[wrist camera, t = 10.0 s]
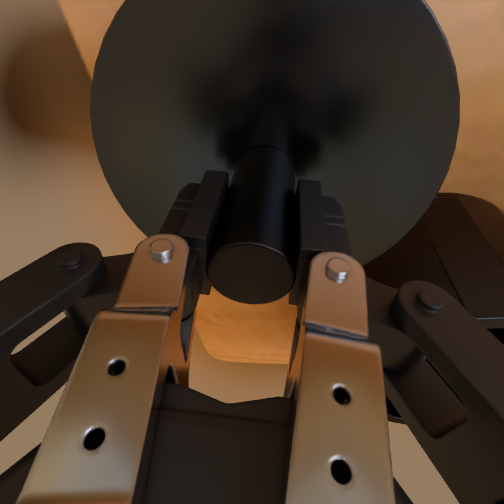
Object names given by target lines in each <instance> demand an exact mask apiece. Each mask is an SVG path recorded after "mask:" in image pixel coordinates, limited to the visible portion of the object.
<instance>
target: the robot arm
mask: <svg viewBox="0 0 504 504" xmlns="http://www.w3.org/2000/svg"><path fill="white" fill-rule="evenodd" d="M228 190H229V173H228V172H225V171H215V170H206V172H205V174H204V176H203V179H202V181H201V183H200V184H199V183H189V184H188V185H187V186H185V187H184V188H183V189H181V190H180V192H179V194H178V196H177V198H176V201H175V202H174V204H173V205H172V209H170V211H169V213H168V215H167V217H166V219H165V221H164V223H163V225H162V227H161V229H160V231H159V233H158V234H157V235H153V236H150V237H148V238H146V239H144V240H143V241H141V242H140V243H139V244H138V246H137V247H136V249H135V251H134V253H130V254H124V255H116V256H108V257H102V254H101V252H100V250H99V248H97V247H96V246H95V245H92V244H89V243H72V244H67V245H64V246H61V247H59V248H57V249H55V250H53V251H52V252H50V253H48V254H46V255H45V256H43V257H41V258H39V259H38V260H36V261H34V262H32V263H31V264H29V265H27V266H26V267H24V268H22V269H20V270H19V271H17V272H15V273H13V274H12V275H10V276H8V277H7V278H5V279H3V280H1V281H0V441H2V440H3V439H4V438H5V437H6V436H7V435H8V434H9V433H11V432H12V431H13V430H14V429H15V428H16V427H17V426H18V425H19V424H20V423H21V422H23V421H24V420H25V419H26V418H27V417H28V416H29V415H31V414H32V413H33V412H34V411H35V410H36V409H37V408H38V407H40V406H41V405H42V404H43V403H44V402H45V401H46V400H47V399H48V398H49V397H51V396H52V395H53V394H54V393H55V392H56V391H57V390H59V389H60V388H61V387H62V386H63V385H64V384H65V383H66V382H67V381H68V382H67V384H66V386H65V389H64V391H63V394H62V396H61V398H60V401H59V403H58V406H57V408H56V410H55V413H54V415H53V417H52V420H51V422H50V424H49V427H48V429H47V432H46V434H45V436H44V439H43V441H42V442H41V443H40V444H39V445H38V446H36V447H35V448H34V449H33V450H31V451H30V452H29V453H27V454H26V455H25V456H24V457H22V458H21V459H20V460H19V461H17V462H16V463H15V464H14V465H12V466H11V467H10V468H9V469H7V470H6V471H5V472H4V473H2V474H1V475H0V504H413V502H412V501H411V500H410V498H409V497H408V496H407V494H406V493H405V492H404V490H403V489H402V487H401V486H400V485H399V483H398V482H397V481H396V479H395V478H394V477H393V473H392V462H391V452H390V441H389V430H388V419H387V408H386V398H385V393H386V395H387V396H388V398H389V399H390V401H391V402H392V404H393V405H394V407H395V408H396V410H397V411H398V413H399V414H400V416H401V417H402V419H403V420H404V422H405V423H406V425H407V426H408V427H409V429H410V430H411V432H412V433H413V435H414V436H415V437H416V439H417V441H418V442H419V444H420V445H421V447H422V448H423V450H424V451H425V453H426V454H427V455H428V457H429V459H430V460H431V462H432V463H433V464H434V466H435V467H436V469H437V470H438V472H439V473H440V475H441V476H442V478H443V479H444V481H445V482H446V484H447V485H448V487H449V488H450V490H451V491H452V493H453V494H454V496H455V497H456V499H457V500H458V501H459V503H460V504H504V345H503V344H502V343H501V342H500V341H499V340H498V339H497V338H496V337H495V336H494V335H493V334H492V333H491V332H490V331H489V330H488V329H486V328H485V327H484V326H483V325H482V324H481V323H480V322H479V321H478V320H477V319H476V318H475V317H474V316H473V315H472V314H471V313H469V312H468V311H467V310H466V309H465V308H464V307H463V306H462V305H461V304H460V303H459V302H458V301H457V300H456V299H455V298H454V297H452V296H451V295H450V294H449V293H448V292H447V291H445V290H444V289H442V288H441V287H439V286H437V285H435V284H432V283H429V282H426V281H421V280H412V281H408V282H405V283H404V284H402V285H401V287H400V288H399V289H396V288H393V287H390V286H387V285H384V284H382V283H379V282H376V281H374V280H372V279H370V278H368V277H367V276H365V272H364V269H363V267H362V266H361V264H360V263H359V262H358V261H356V260H355V259H354V258H352V254H351V249H350V244H349V239H348V234H347V229H346V227H345V226H346V224H345V219H344V214H343V210H342V206H341V205H340V204H339V203H338V201H337V200H336V199H335V198H334V197H327V196H322V189H321V182H320V181H315V180H305V179H298V183H297V188H296V194H295V235H296V280H295V283H294V285H293V287H292V289H291V290H290V291H289V304H292V305H297V317H296V321H295V325H294V331H293V338H292V345H291V352H290V359H289V366H288V372H287V379H286V385H285V390H284V395H283V397H273V398H266V399H259V400H253V401H246V402H239V403H231V404H228V403H224V402H221V401H219V400H216V399H214V398H212V397H209V396H207V395H205V394H202V393H200V392H197V391H195V390H193V389H191V388H189V365H190V357H191V349H192V342H193V335H194V327H195V320H196V306H197V302H198V299H199V296H200V294H206V295H209V294H210V290H211V286H212V285H211V283H210V282H209V280H208V277H207V273H206V265H207V261H208V257H209V254H210V251H211V247H212V244H213V240H214V237H215V234H216V230H217V227H218V224H219V220H220V217H221V213H222V210H223V207H224V203H225V200H226V197H227V193H228ZM63 311H64V313H65V315H66V317H65V318H64V319H62V320H61V321H60V322H59V323H57V324H56V325H54V326H53V327H52V328H50V329H49V330H48V331H46V332H45V333H43V334H42V335H41V336H39V337H38V338H37V339H35V340H34V341H33V342H31V343H30V344H29V345H27V346H26V347H25V348H23V349H22V350H21V351H19V352H17V353H15V354H13V355H11V353H12V351H13V350H14V348H15V347H16V346H17V345H18V344H19V343H20V342H22V341H23V340H24V339H26V338H27V337H28V336H30V335H31V334H32V333H34V332H35V331H37V330H38V329H39V328H41V327H42V326H43V325H45V324H46V323H47V322H49V321H50V320H52V319H53V318H54V317H56V316H57V315H59V314H60V313H61V312H63ZM426 358H427V359H428V360H429V362H430V363H431V364H432V365H433V366H434V368H435V369H436V370H437V371H438V372H439V374H440V375H441V376H442V377H443V378H444V380H445V381H446V382H447V383H448V384H449V386H450V387H451V388H452V389H453V390H454V392H455V393H456V394H457V395H458V396H459V398H460V399H461V400H462V402H463V403H464V405H465V406H464V405H463V404H462V403H461V402H460V401H459V399H458V398H457V397H456V396H455V395H454V393H453V392H452V391H451V390H450V389H449V387H448V386H447V385H446V384H445V382H444V381H443V380H442V379H441V378H440V376H439V375H438V374H437V373H436V372H435V370H434V369H433V368H432V367H431V366H430V364H429V363H428V362H427V361H426V360H425V359H426Z"/></svg>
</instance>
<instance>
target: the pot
mask: <svg viewBox="0 0 504 504" xmlns="http://www.w3.org/2000/svg"><path fill="white" fill-rule="evenodd" d="M362 267H363V269H364V272H365V276H367V277H368V278H370V279H372V280H374V281H376V282H379V283H382V284H384V285H387V286H390V287H393V288H396V289H399V288H400V287H401V285H402V284H404V283H405V282H408V281H412V280H421V281H426V282H429V283H432V284H435V285H437V286H439V287H441V288H442V289H444V290H445V291H447V292H448V293H449V294H450V295H451V296H452V297H454V298H455V299H456V300H457V301H458V302H459V303H460V304H461V305H462V306H463V307H464V308H465V309H466V310H467V311H468V312H469V313H471V314H472V315H473V316H474V317H475V318H476V319H477V320H478V321H479V322H480V323H481V324H482V325H483V326H484V327H485V328H486V329H488V330H489V331H490V332H491V333H492V334H493V335H494V336H495V337H496V338H497V339H498V340H499V341H500V342H501V343H502V344H503V345H504V212H503V211H502V210H501V209H499V208H498V207H496V206H495V205H493V204H492V203H490V202H487V201H485V200H483V199H480V198H477V197H473V196H470V195H464V194H457V193H438V194H437V195H436V197H435V198H434V200H433V202H432V203H431V205H430V206H429V208H428V210H427V211H426V212H425V213H424V215H423V216H422V217H421V218H420V220H419V221H418V222H417V223H416V225H415V226H414V227H413V228H412V229H411V230H410V231H409V232H408V233H407V234H406V235H405V236H404V237H403V238H402V239H401V240H400V241H399V242H398V243H396V244H395V245H394V246H393V247H391V248H390V249H389V250H388V251H386V252H385V253H384V254H382V255H380V256H379V257H377V258H376V259H374V260H373V261H371V262H370V263H368V264H366V265H364V266H362ZM425 360H426V361H427V362H428V363H429V364H430V366H431V367H432V368H433V369H434V370H435V372H436V373H437V374H438V375H439V376H440V378H441V379H442V380H443V381H444V382H445V384H446V385H447V386H448V387H449V389H450V390H451V391H452V392H453V393H454V395H455V396H456V397H457V398H458V399H459V401H460V402H461V403H462V404H463V405H464V403H463V402H462V400H461V399H460V398H459V396H458V395H457V394H456V393H455V392H454V390H453V389H452V388H451V387H450V386H449V384H448V383H447V382H446V381H445V380H444V378H443V377H442V376H441V375H440V374H439V372H438V371H437V370H436V369H435V368H434V366H433V365H432V364H431V363H430V362H429V360H428V359H427V358H426V359H425ZM385 398H386V408H387V419H388V421H391V422H396V423H401V424H406V423H405V422H404V420H403V419H402V417H401V416H400V414H399V413H398V411H397V410H396V408H395V407H394V405H393V404H392V402H391V401H390V399H389V398H388V396H387V395H386V393H385ZM464 406H465V405H464Z"/></svg>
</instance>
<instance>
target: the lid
mask: <svg viewBox="0 0 504 504" xmlns="http://www.w3.org/2000/svg"><path fill="white" fill-rule="evenodd" d="M90 115H91V123H92V133H93V140H94V143H95V148H96V152H97V156H98V160H99V162H100V164H101V168H102V170H103V173H104V176H105V178H106V180H107V182H108V184H109V186H110V188H111V190H112V192H113V194H114V196H115V197H116V199H117V200H118V202H119V203H120V205H121V207H122V208H123V210H124V211H125V212H126V214H127V215H128V216H129V217H130V219H131V220H132V221H133V222H134V224H135V225H136V226H137V227H138V228H139V229H140V230H141V231H142V232H143V233H144V234H145V235H146V236H147V237H150V236H153V235H157V234H158V233H159V231H160V229H161V227H162V225H163V223H164V221H165V219H166V217H167V215H168V213H169V211H170V209H172V205H173V204H174V202H175V201H176V198H177V196H178V194H179V192H180V190H181V189H183V188H184V187H185V186H187V185H188V184H189V183H199V184H200V183H201V181H202V179H203V176H204V174H205V172H206V170H215V171H225V172H228V173H229V190H228V193H227V197H226V200H225V203H224V207H223V210H222V213H221V217H220V220H219V224H218V227H217V230H216V234H215V237H214V240H213V244H212V247H211V251H210V254H209V257H208V261H207V265H206V273H207V277H208V280H209V282H210V283H211V285H212V286H213V287H214V288H215V289H216V290H217V291H218V292H219V293H220V294H222V295H223V296H225V297H227V298H229V299H231V300H234V301H237V302H241V303H246V304H265V303H270V302H274V301H276V300H279V299H280V298H282V297H284V296H285V295H286V294H287V293H289V291H290V290H291V289H292V287H293V285H294V283H295V280H296V235H295V194H296V188H297V183H298V179H305V180H315V181H320V182H321V189H322V196H327V197H334V198H335V199H336V200H337V201H338V203H339V204H340V205H341V206H342V210H343V214H344V219H345V224H346V226H345V227H346V229H347V234H348V239H349V244H350V249H351V254H352V258H354V259H355V260H356V261H358V262H359V263H360V264H361V266H364V265H366V264H368V263H370V262H371V261H373V260H374V259H376V258H377V257H379V256H380V255H382V254H384V253H385V252H386V251H388V250H389V249H390V248H391V247H393V246H394V245H395V244H396V243H398V242H399V241H400V240H401V239H402V238H403V237H404V236H405V235H406V234H407V233H408V232H409V231H410V230H411V229H412V228H413V227H414V226H415V225H416V223H417V222H418V221H419V220H420V218H421V217H422V216H423V215H424V213H425V212H426V211H427V210H428V208H429V206H430V205H431V203H432V202H433V200H434V198H435V197H436V195H437V194H438V192H439V190H440V188H441V185H442V183H443V181H444V179H445V177H446V175H447V172H448V170H449V167H450V163H451V160H452V157H453V154H454V151H455V147H456V140H457V134H458V128H459V118H460V93H459V86H458V79H457V72H456V66H455V63H454V60H453V57H452V54H451V51H450V47H449V44H448V41H447V38H446V36H445V34H444V32H443V30H442V29H441V27H440V25H439V23H438V21H437V19H436V17H435V15H434V13H433V11H432V10H431V8H430V7H429V6H428V4H427V3H426V2H425V1H424V0H125V1H124V3H123V4H122V6H121V7H120V8H119V10H118V11H117V12H116V14H115V16H114V18H113V20H112V22H111V24H110V26H109V28H108V30H107V32H106V34H105V36H104V38H103V41H102V44H101V47H100V50H99V54H98V57H97V60H96V63H95V68H94V74H93V80H92V86H91V107H90Z"/></svg>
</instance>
